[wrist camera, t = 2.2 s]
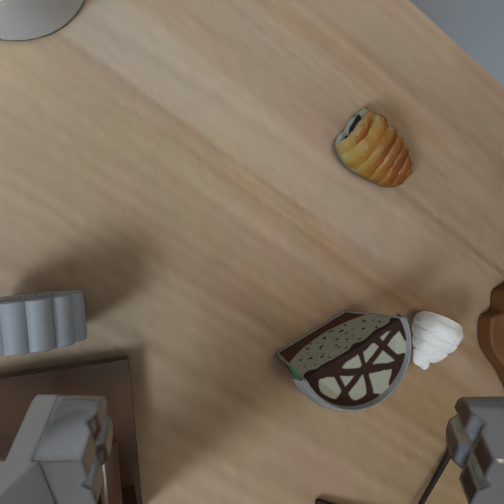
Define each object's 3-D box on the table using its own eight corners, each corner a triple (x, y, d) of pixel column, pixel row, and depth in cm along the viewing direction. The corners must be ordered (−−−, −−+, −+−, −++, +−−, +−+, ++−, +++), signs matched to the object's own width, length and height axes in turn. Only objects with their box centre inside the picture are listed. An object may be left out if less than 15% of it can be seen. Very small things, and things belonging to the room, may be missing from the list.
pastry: (413, 157, 56) (435, 151, 53) (384, 203, 55) (404, 200, 52) (355, 106, 54) (374, 95, 50) (324, 153, 53) (340, 146, 49)
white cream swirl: (388, 353, 55) (418, 363, 50) (409, 306, 56) (440, 311, 51) (423, 371, 57) (456, 384, 52) (443, 326, 58) (477, 333, 52)
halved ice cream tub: (288, 409, 52) (330, 444, 42) (263, 359, 51) (301, 384, 41) (377, 350, 55) (435, 371, 45) (355, 303, 54) (410, 314, 44)
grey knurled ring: (-13, 297, 43) (-38, 308, 35) (84, 287, 45) (80, 295, 37) (-9, 342, 43) (-32, 362, 35) (88, 329, 45) (85, 345, 38)
